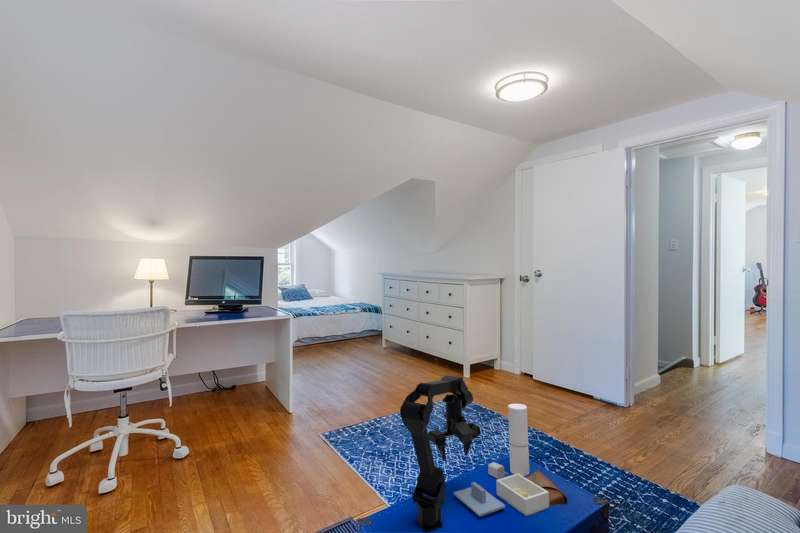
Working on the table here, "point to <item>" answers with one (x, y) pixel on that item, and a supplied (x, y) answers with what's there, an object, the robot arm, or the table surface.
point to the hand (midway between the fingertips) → (455, 457)
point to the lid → (479, 500)
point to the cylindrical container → (518, 439)
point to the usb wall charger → (496, 470)
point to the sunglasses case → (548, 488)
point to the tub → (522, 494)
